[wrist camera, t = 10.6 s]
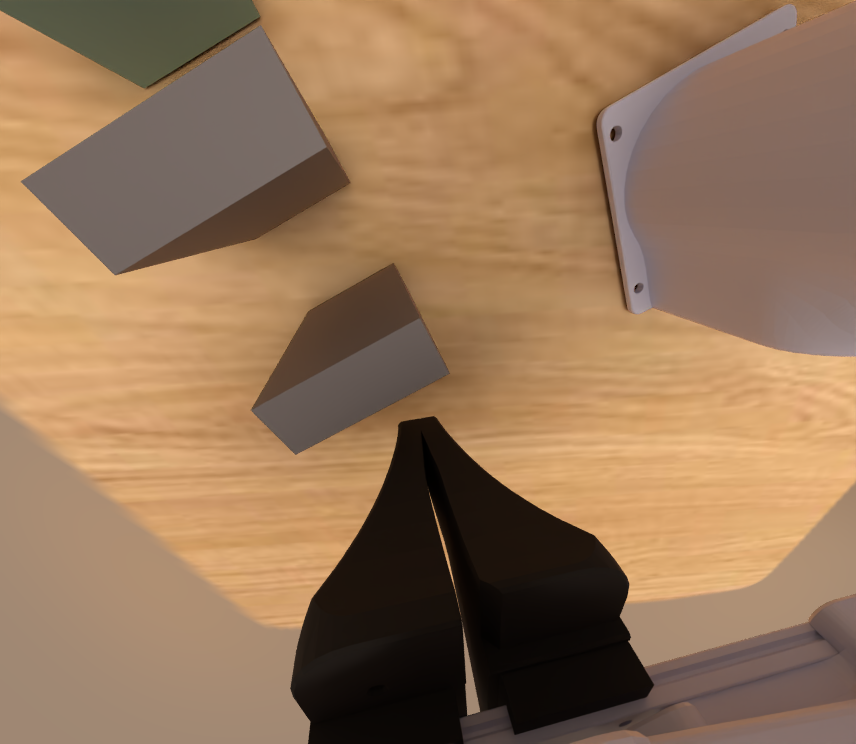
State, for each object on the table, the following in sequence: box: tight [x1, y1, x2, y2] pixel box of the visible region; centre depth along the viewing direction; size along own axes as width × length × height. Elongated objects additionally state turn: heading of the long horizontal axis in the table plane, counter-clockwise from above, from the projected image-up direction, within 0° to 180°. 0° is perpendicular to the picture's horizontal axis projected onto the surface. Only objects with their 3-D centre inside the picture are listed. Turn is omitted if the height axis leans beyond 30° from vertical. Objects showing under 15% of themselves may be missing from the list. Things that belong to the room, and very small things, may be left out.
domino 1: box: [21, 25, 350, 275], centre depth 9 cm, size 2×4×8 cm, turn 117°
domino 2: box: [251, 263, 450, 455], centre depth 11 cm, size 2×4×8 cm, turn 117°
